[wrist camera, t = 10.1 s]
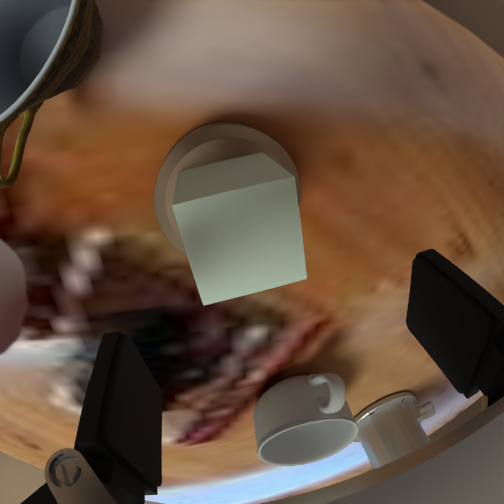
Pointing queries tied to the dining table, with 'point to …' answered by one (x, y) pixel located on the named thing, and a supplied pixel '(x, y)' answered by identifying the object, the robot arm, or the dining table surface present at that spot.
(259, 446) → the teacup
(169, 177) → the brown round dish
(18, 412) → the dining table surface
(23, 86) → the ceramic cup
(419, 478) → the robot arm
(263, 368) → the dining table surface
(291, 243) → the sage block
